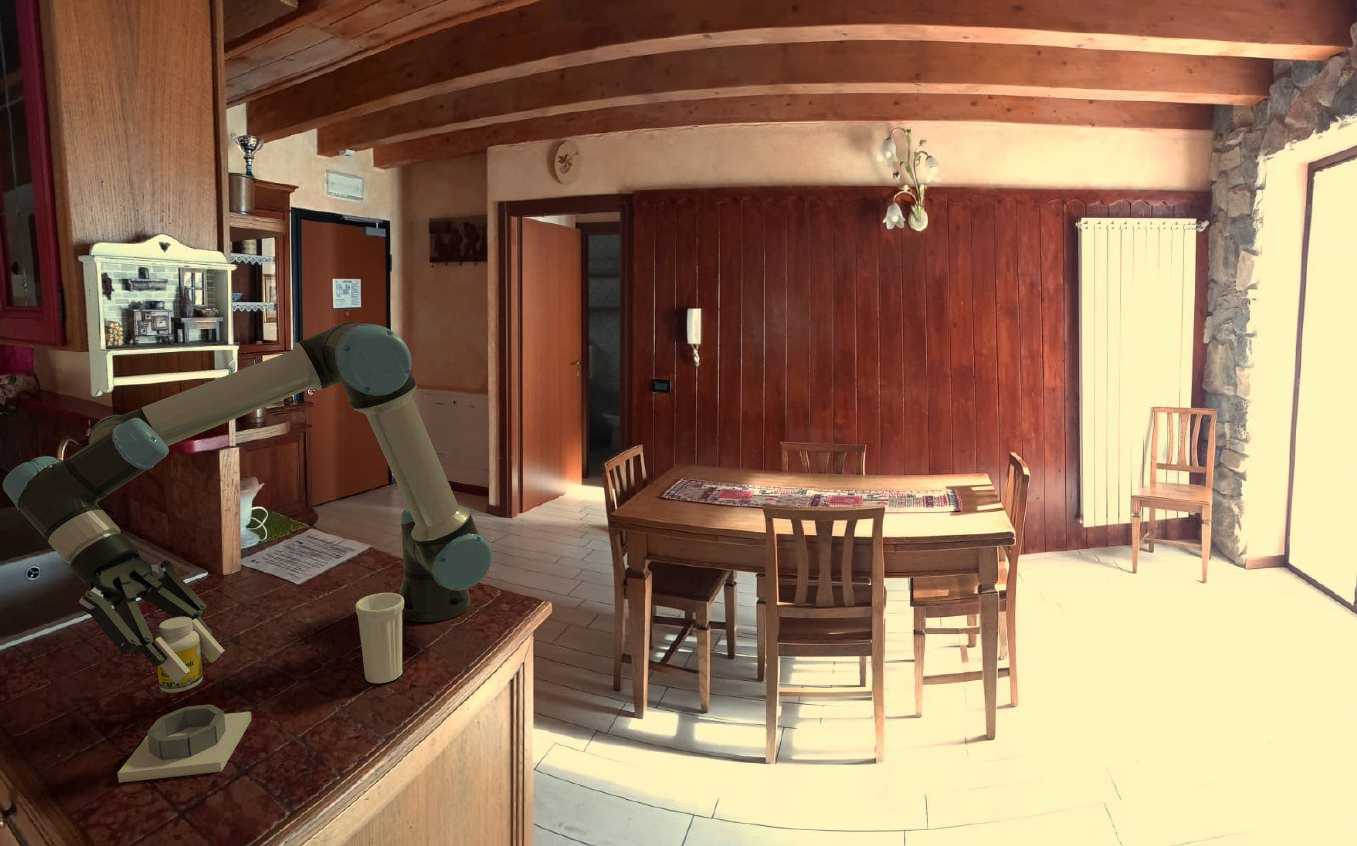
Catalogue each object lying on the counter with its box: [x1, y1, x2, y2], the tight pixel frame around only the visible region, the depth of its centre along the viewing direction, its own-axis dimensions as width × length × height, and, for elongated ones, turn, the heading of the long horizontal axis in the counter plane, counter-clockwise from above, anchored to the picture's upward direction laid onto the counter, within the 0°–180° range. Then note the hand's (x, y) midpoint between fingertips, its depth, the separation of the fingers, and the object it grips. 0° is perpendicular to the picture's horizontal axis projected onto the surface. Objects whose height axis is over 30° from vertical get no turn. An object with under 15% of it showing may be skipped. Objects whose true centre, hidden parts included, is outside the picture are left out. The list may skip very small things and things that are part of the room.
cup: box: [355, 592, 404, 684], centre depth 133 cm, size 8×8×14 cm
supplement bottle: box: [156, 617, 204, 693], centre depth 110 cm, size 5×5×10 cm
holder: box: [117, 704, 252, 783], centre depth 112 cm, size 13×13×4 cm
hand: (200, 666), depth 109 cm, fingers closed on supplement bottle, 5 cm apart
